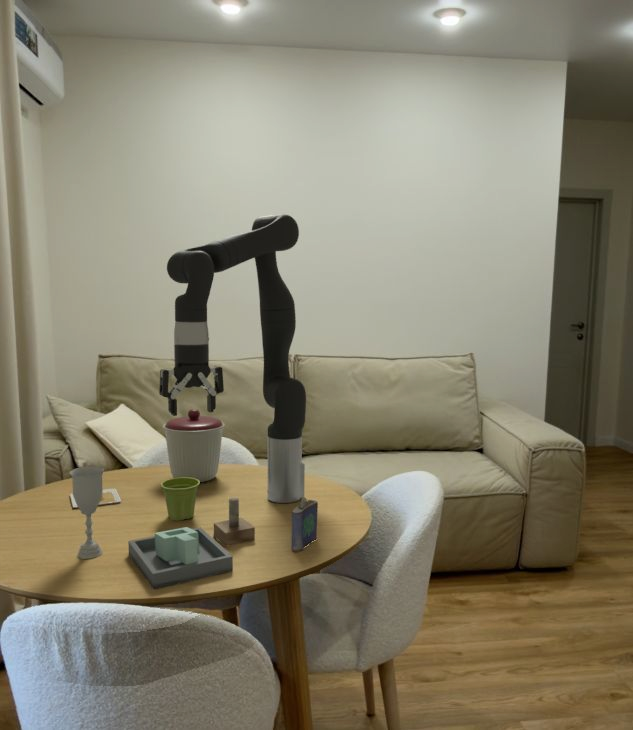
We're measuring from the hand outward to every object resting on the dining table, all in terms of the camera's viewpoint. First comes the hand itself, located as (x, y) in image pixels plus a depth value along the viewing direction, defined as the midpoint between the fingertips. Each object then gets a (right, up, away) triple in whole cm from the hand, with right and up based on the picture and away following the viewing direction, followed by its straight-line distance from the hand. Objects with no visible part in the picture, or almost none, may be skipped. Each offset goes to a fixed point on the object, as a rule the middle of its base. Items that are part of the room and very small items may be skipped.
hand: (192, 413), depth 141 cm
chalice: (-20, -29, -9) cm, 36 cm away
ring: (+1, -28, -14) cm, 31 cm away
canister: (-8, -23, +46) cm, 52 cm away
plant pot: (-6, -27, +14) cm, 31 cm away
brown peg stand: (+9, -28, +1) cm, 30 cm away
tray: (0, -30, -12) cm, 32 cm away
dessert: (-31, -26, +26) cm, 48 cm away
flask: (+25, -29, -2) cm, 39 cm away
